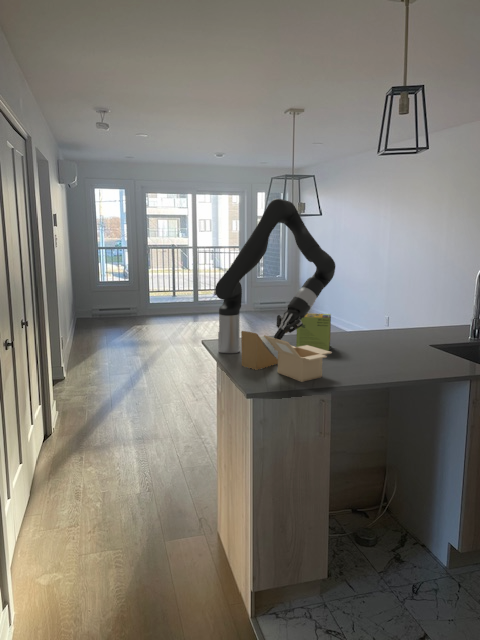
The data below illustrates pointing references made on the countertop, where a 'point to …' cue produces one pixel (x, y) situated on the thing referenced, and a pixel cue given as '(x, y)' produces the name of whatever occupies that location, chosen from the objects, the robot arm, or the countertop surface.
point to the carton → (302, 363)
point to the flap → (282, 346)
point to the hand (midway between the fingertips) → (276, 339)
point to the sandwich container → (255, 352)
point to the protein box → (315, 331)
